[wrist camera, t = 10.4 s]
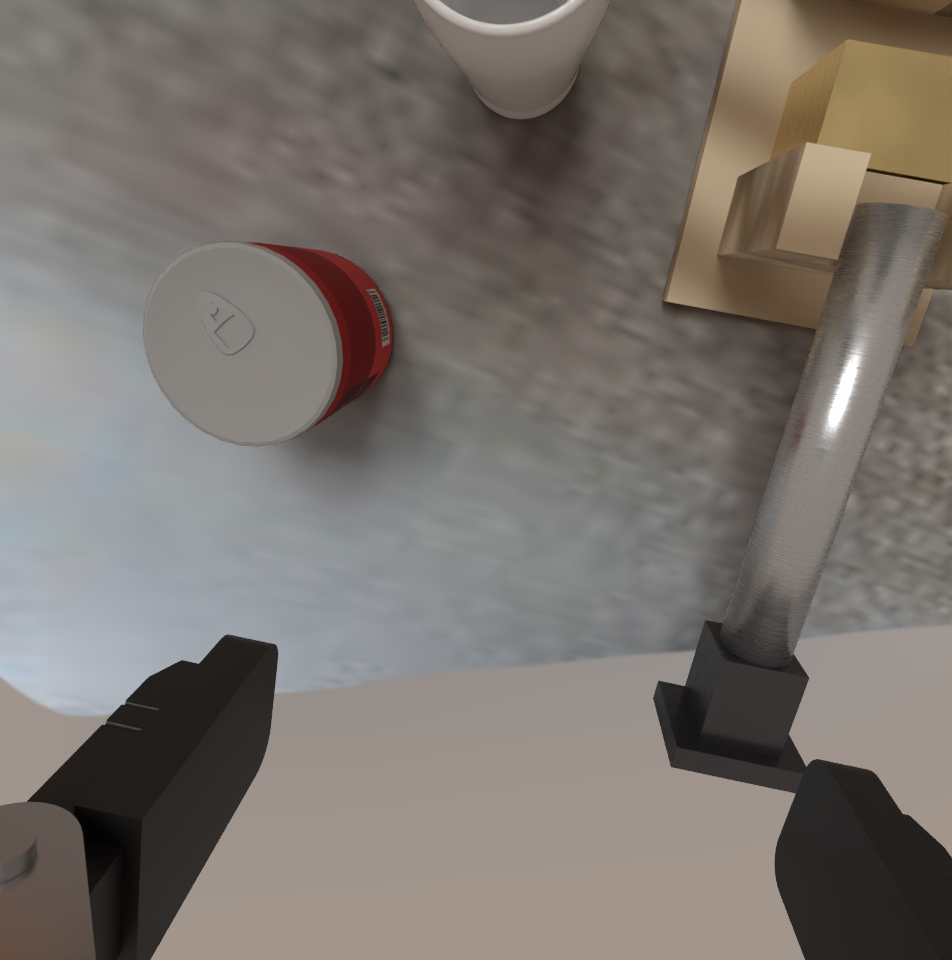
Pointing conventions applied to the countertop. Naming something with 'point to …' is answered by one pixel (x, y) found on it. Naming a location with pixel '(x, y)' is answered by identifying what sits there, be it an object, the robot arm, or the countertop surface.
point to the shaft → (802, 510)
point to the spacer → (876, 109)
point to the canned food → (264, 338)
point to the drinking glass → (516, 47)
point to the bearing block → (792, 166)
